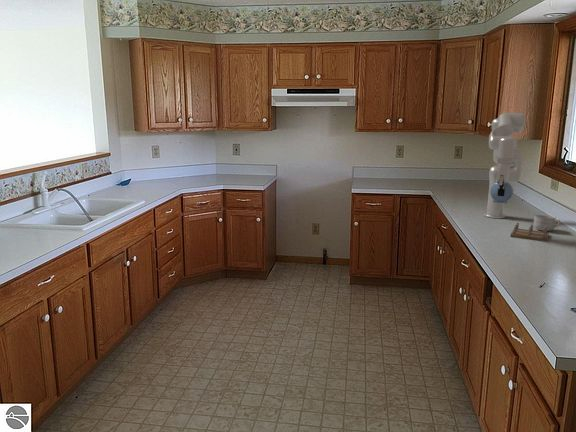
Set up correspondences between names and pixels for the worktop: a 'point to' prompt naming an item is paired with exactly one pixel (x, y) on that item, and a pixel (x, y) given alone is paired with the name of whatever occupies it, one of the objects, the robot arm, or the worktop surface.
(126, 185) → the worktop surface
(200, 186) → the worktop surface
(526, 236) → the dish rack
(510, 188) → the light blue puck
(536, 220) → the teacup
